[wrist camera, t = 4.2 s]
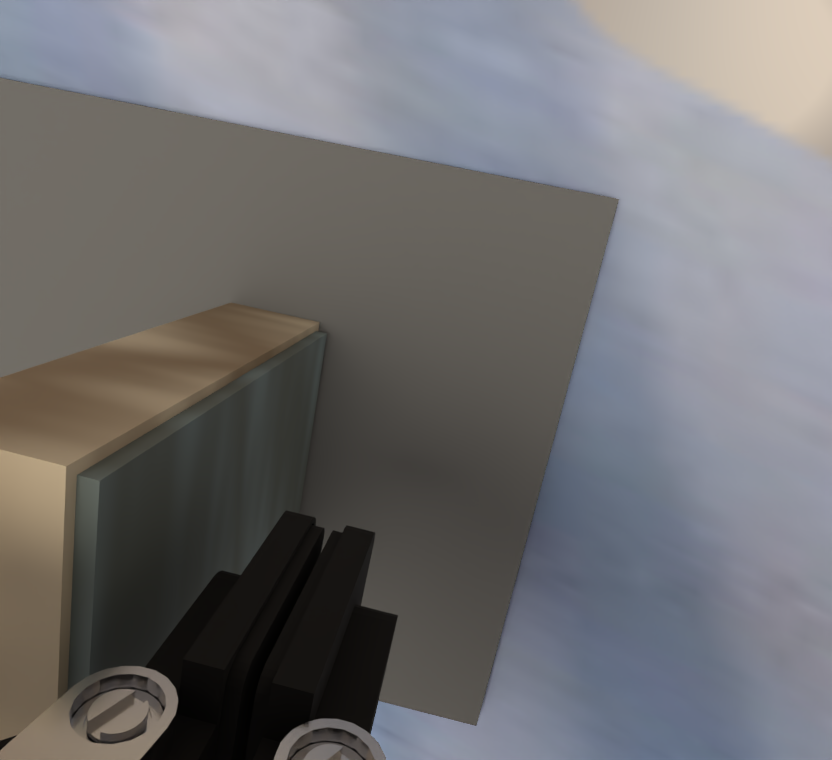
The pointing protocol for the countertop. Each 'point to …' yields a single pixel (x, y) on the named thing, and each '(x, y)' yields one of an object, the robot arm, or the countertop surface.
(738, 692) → the countertop surface
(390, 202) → the mat
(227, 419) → the card box
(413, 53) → the countertop surface
